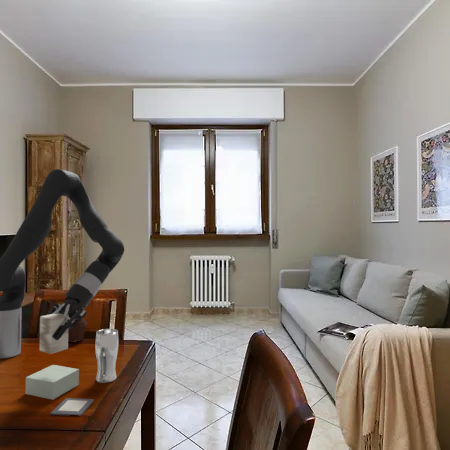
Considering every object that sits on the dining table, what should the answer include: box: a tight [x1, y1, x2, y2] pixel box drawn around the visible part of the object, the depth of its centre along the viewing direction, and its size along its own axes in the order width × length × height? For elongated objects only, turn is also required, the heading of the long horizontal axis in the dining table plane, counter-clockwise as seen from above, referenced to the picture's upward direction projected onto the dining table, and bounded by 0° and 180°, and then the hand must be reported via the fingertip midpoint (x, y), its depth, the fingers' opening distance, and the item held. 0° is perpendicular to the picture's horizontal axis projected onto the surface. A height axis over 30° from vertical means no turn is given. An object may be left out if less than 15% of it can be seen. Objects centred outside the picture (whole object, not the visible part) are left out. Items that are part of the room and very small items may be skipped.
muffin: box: [68, 317, 88, 342], centre depth 150 cm, size 12×11×10 cm
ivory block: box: [39, 313, 69, 355], centre depth 104 cm, size 6×6×10 cm
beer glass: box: [94, 328, 119, 384], centre depth 112 cm, size 7×7×15 cm
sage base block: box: [25, 364, 80, 400], centre depth 104 cm, size 10×10×5 cm
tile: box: [49, 397, 95, 417], centre depth 94 cm, size 8×8×1 cm
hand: (48, 336), depth 103 cm, fingers closed on ivory block, 5 cm apart
